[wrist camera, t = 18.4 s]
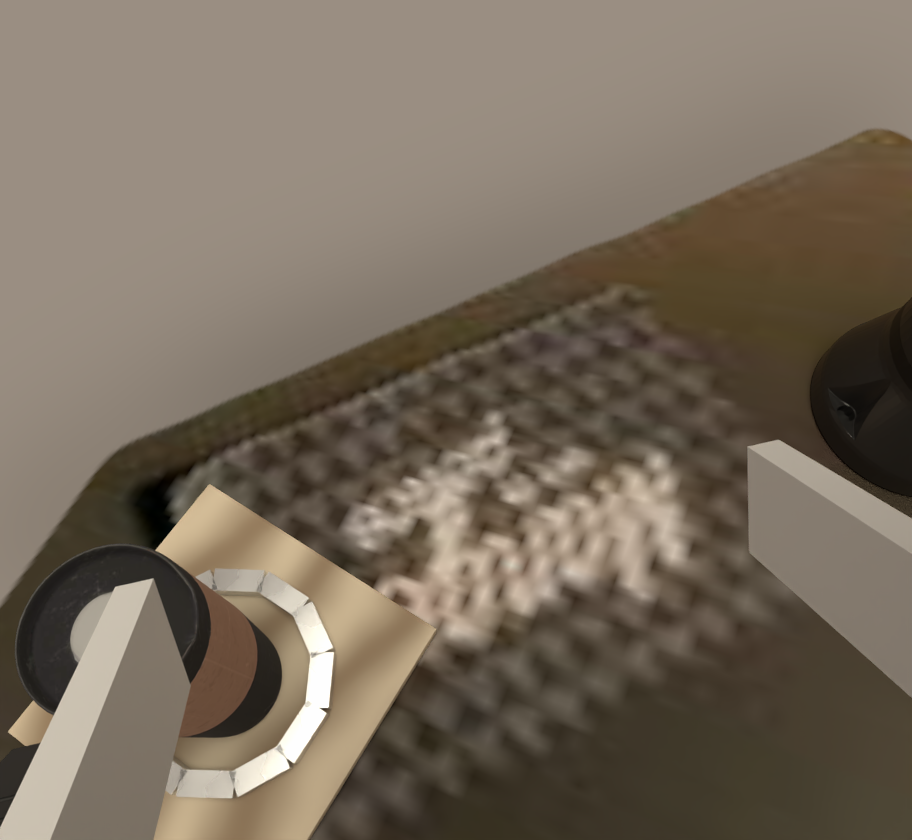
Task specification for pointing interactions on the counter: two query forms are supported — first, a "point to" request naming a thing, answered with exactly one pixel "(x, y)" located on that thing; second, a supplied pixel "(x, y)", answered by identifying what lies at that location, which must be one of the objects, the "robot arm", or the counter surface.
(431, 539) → the counter surface
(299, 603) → the dock collar
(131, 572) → the travel mug
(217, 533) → the dock board
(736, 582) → the counter surface
